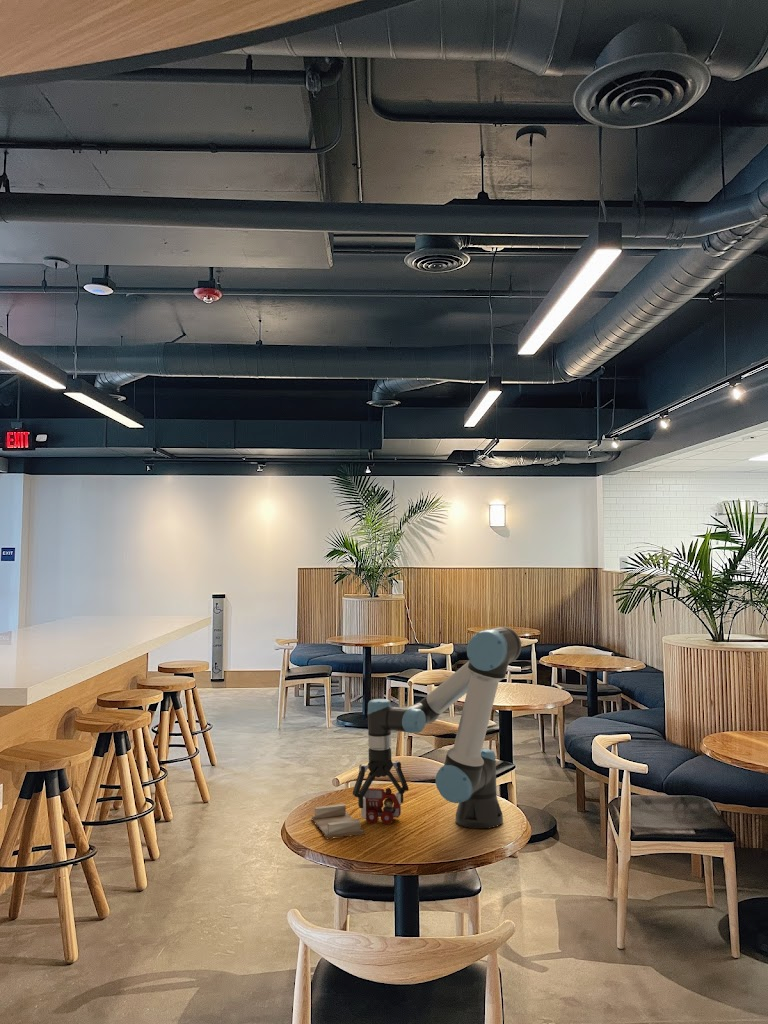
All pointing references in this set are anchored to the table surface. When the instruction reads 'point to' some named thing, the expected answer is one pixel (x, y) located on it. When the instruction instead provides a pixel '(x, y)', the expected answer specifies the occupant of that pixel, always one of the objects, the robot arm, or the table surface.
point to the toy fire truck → (381, 805)
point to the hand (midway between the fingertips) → (381, 815)
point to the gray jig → (336, 821)
